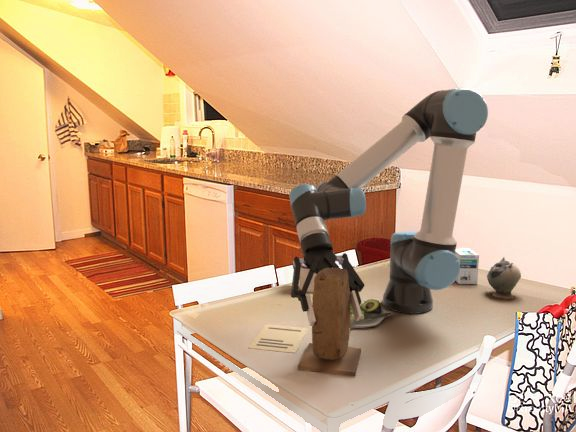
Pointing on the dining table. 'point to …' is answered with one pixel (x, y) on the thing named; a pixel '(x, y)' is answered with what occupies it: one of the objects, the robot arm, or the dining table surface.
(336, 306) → the brown tall rough part
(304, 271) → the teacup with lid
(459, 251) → the light bulb box
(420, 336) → the dining table surface
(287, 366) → the dining table surface
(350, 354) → the plate
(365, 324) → the salad plate
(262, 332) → the letter
